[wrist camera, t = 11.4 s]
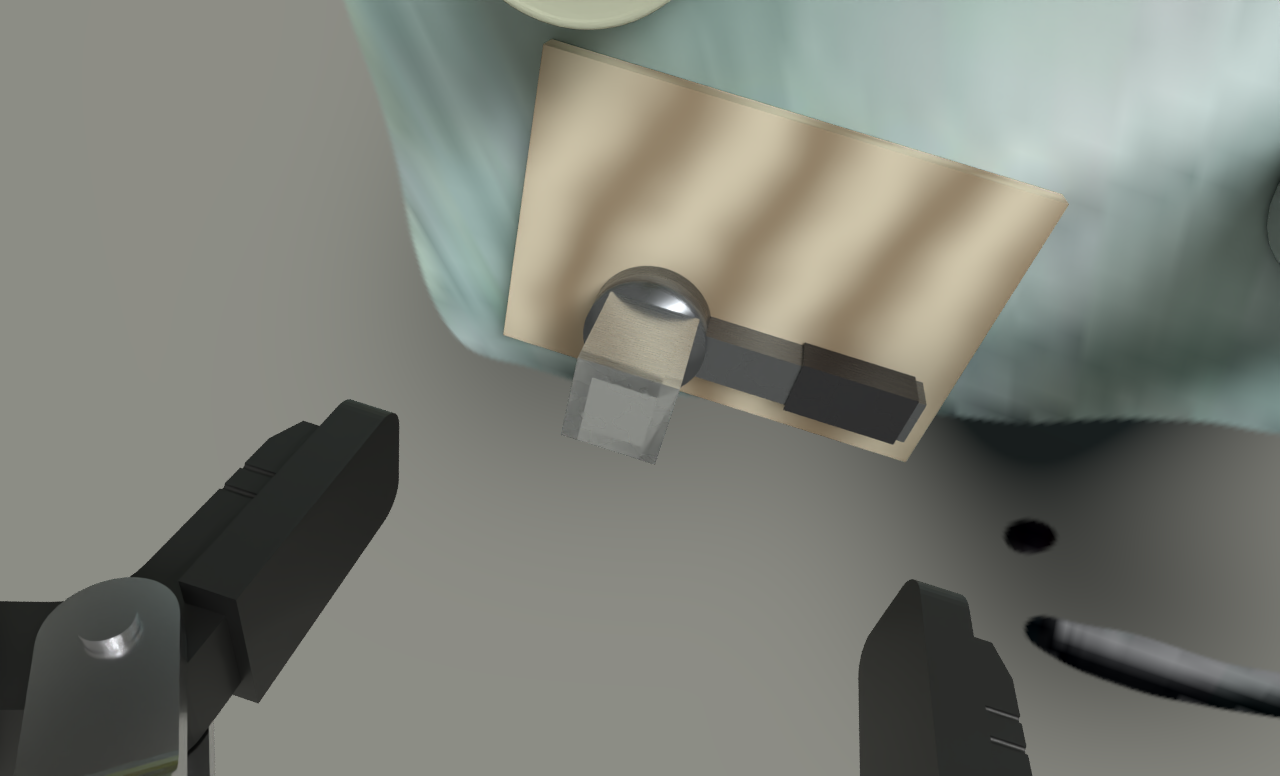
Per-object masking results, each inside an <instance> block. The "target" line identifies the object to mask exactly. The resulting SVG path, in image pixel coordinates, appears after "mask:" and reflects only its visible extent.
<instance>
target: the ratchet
mask: <svg viewBox="0 0 1280 776" xmlns="http://www.w3.org/2000/svg"><path fill="white" fill-rule="evenodd" d="M610 292H614V293H617V294H620V295H624V296H627V297H630V298H633V299H636V300H640V301H643V302H646V303H649V304H652V305H656V306H659V307H662V308H665V309H668V310H672V311H675V312H678V313H681V314H684V315H688V316H691V317H694V318H697V319H700V320H699V324H698V327H697V331H696V334H695V338H694V341H693V345H692V349H691V352H690V356H689V359H688V363H687V366H686V370H685V373H684V377H683V380H682V384H681V387H682V386H684V385H685V384H687V383H688V382H689V381H690V380H692V379H693V377H694V376H695V377H698V378H701V379H704V380H707V381H711V382H714V383H717V384H720V385H723V386H726V387H730V388H733V389H736V390H739V391H742V392H745V393H749V394H752V395H755V396H758V397H761V398H764V399H767V400H771V401H774V402H777V403H780V404H783V410H785V411H788V412H791V413H794V414H797V415H800V416H804V417H807V418H810V419H813V420H816V421H819V422H823V423H826V424H829V425H832V426H835V427H838V428H842V429H845V430H848V431H851V432H854V433H857V434H861V435H864V436H867V437H870V438H873V439H876V440H879V441H883V442H886V443H889V444H892V445H893V444H894V443H895V441H896V440H897V441H900V442H905V440H906V438H907V437H908V435H909V433H910V432H911V430H912V429H913V427H914V425H915V424H916V422H917V420H918V419H919V417H920V416H921V414H922V412H923V411H924V409H925V407H926V406H927V404H926V398H925V392H924V386H923V383H922V382H919V381H916V378H915V377H914V376H911V375H908V374H905V373H901V372H898V371H895V370H892V369H889V368H885V367H882V366H879V365H876V364H873V363H869V362H866V361H863V360H860V359H857V358H853V357H850V356H847V355H844V354H841V353H838V352H834V351H831V350H828V349H825V348H822V347H818V346H815V345H812V344H809V343H806V342H805V343H804V345H801V344H798V343H795V342H791V341H788V340H785V339H782V338H779V337H775V336H772V335H769V334H766V333H763V332H759V331H756V330H753V329H750V328H747V327H743V326H740V325H737V324H734V323H731V322H728V321H724V320H721V319H718V318H715V317H712V316H711V314H710V310H709V307H708V304H707V302H706V300H705V298H704V296H703V295H702V294H701V292H700V291H699V290H698V289H697V287H696V286H695V285H694V284H693V283H691V282H690V281H689V280H688V279H686V278H685V277H683V276H682V275H680V274H678V273H676V272H674V271H671V270H669V269H666V268H662V267H656V266H637V267H632V268H628V269H626V270H623V271H621V272H619V273H617V274H616V275H614V276H613V277H611V278H610V279H609V280H608V281H607V282H606V283H605V284H604V286H603V287H602V289H601V290H600V292H599V294H598V296H597V298H596V300H595V301H594V303H593V305H592V307H591V309H590V311H589V313H588V315H587V317H586V320H585V323H584V328H583V340H584V344H585V342H586V340H587V338H588V336H589V334H590V332H591V330H592V328H593V326H594V324H595V322H596V320H597V318H598V316H599V314H600V312H601V310H602V308H603V306H604V304H605V302H606V300H607V298H608V296H609V294H610Z"/></svg>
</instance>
